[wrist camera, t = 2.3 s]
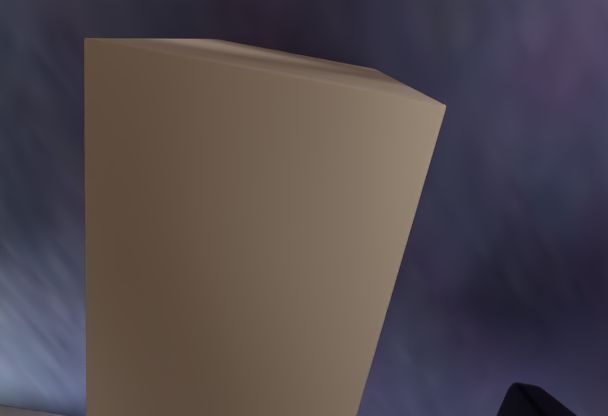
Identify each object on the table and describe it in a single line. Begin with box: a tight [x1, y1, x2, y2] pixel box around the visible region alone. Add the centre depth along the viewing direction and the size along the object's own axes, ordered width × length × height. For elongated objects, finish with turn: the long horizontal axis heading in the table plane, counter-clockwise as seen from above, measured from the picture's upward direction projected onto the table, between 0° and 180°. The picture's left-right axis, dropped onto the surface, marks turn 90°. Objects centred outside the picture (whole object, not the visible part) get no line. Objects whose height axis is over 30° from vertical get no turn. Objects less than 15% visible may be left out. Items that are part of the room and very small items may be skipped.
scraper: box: [0, 38, 446, 416], centre depth 8 cm, size 13×12×5 cm
